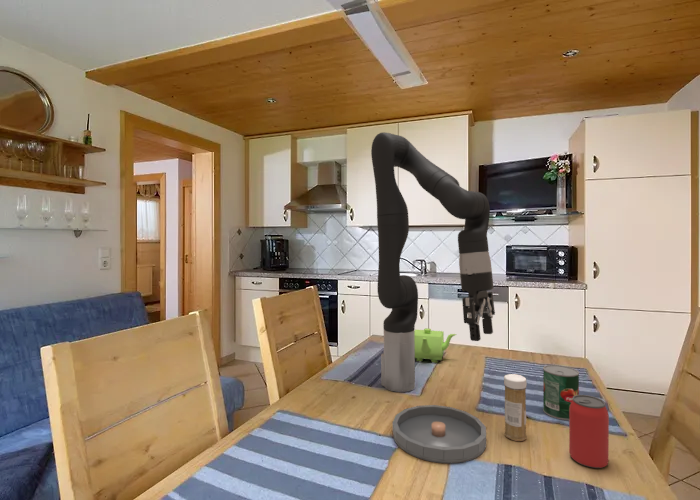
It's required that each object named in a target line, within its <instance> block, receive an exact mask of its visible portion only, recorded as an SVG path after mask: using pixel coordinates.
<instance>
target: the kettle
mask: <svg viewBox="0 0 700 500" xmlns="http://www.w3.org/2000/svg"><path fill="white" fill-rule="evenodd" d="M414 330H415V362H418V361H421V362H423V360H424V359H425V360H430V362H431V363H432V362H433V363H432V364H438V363H437V362H438V361H442V360H443V356H444V354H445V352H444V351H446V350H447V349H448V347H449V345H450V343H451V340H452V338H453V337H455V336H457V334H455V333H450V334H448V335H447V337H446V340H445V341H444V339H445V338H444V335H445V333H444V331H443V330H441V331H440V330H432V329H431V328H424V329H414Z"/></svg>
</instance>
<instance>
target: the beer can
mask: <svg viewBox="0 0 700 500" xmlns="http://www.w3.org/2000/svg"><path fill="white" fill-rule="evenodd" d="M572 399H573V400H572V402H571V404H570V408H569V420H568V423H569V424H568V425H569V426H568V427H569V435H568V437H569V439H568V441H569V442H568V443H569V445H568V448H569V449H568V450H569V456H570V457H571V458H572V459H573V460H574V462H576V463H578V464H580V465H582V466H585V467H587V468H592V469H601V468H605V467H606V466H608V464H609V454H610V453H609V452H610V451H609V449H610V448H609V440H610V439H609V438H610V437H609V436H610V435H609V434H610V432H609V428H610V427H609V426H610V425H609V424H610V423H609V422H610V421H609V420H610V419H609V418H610V416H609V412H608V409H607V407H606V402H605V401H604V400H603V399H601V398H599V397H596V396H592V395H589V394H588V395H586V394H579V395H576V396H573V398H572Z"/></svg>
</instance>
